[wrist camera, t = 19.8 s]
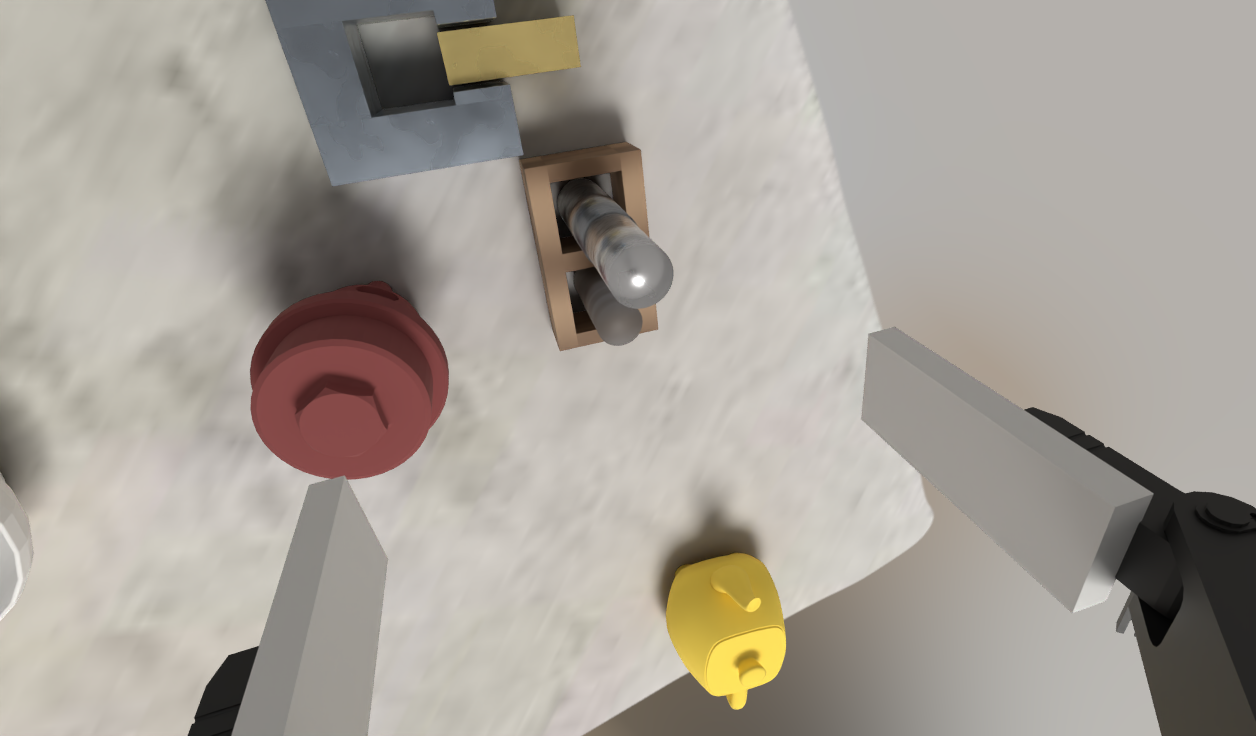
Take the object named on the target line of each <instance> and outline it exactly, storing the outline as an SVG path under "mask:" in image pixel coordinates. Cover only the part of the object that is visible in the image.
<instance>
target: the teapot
mask: <svg viewBox="0 0 1256 736" xmlns="http://www.w3.org/2000/svg"><path fill="white" fill-rule="evenodd" d="M666 622H667V629H668V633H669V635H670V638H671V640H672V643H673V645H674V647H675V649H676V651H677V653H678V655H679V656H680V658H681V660H682V661H683V663H684V664H685V666H686V667H687V669H688V670H689V671H690V673H691V674H692V675H693V676H694V677H695V678H696V679H697V681H698V682H699V683H700V684H701V685H702V686H703V687H704V688H705V689H706V690H707V691H708V692H709V693H710V694H712V695H714V696H723V695H726V697H727V699H728V702H729V704H730V706H731V707H732V708H733V709H741V708H742V707H743V706H744V705H745V703H746V698H747V689H750V688H753V687H756V686H759V685H762V684H764V683H767V682H769V681H771V680H772V679H773V678H774V677H775V676H776V675H777V673H778V672H779V670H780V668H781V665H782V662H783V659H784V655H785V651H786V637H785V627H784V620H783V614H782V609H781V604H780V600H779V596H778V593H777V590H776V587H775V585H774V582H773V580H772V578H771V575H770V573H769V571H768V570H767V568H766V567H765V565H764V564H763V563H762V562H761V561H759V560H758V559H756V558H754V557H752V556H750V555H748V554H744V553H732V554H730V555H725V556H720V557H716V558H712V559H708V560H704V561H701V562H698V563H695V564H692V565H691V564H685V565H682V566H680V567H679V568H678V569H677V570H676V572H675V578H674V581H673V583H672V586H671V590H670V593H669V598H668V603H667V610H666Z"/></svg>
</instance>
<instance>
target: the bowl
mask: <svg viewBox="0 0 1256 736" xmlns="http://www.w3.org/2000/svg"><path fill="white" fill-rule="evenodd" d="M33 554H34V552H33V545H32V537H31V530H30V524H29V519H28V517H27V515H26V513H25V512H24V510H23V508H22V506H21V504H20V503H19V501H18V499H17V497H16V496H15V494H14V492H13V490H12V489H11V488H10V487H9V486H8V485H7V484H6V483H5V479H4V477H3V476H2V474H1V472H0V621H1V619H2V618H3V617H4V616H5V615H6V614H7V613H8V612H9V611H10V609H11V608H12V607H13V606H14V605H15V604H16V602H17V601H18V599H19V597H20V595H21V594H22V592H23V590H24V587H25V584H26V581H27V578H28V575H29V572H30V568H31V565H32V559H33Z"/></svg>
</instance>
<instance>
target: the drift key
mask: <svg viewBox="0 0 1256 736" xmlns="http://www.w3.org/2000/svg"><path fill="white" fill-rule="evenodd" d="M437 36H438V40H439V44H440V48H441V52H442V56H443V61H444V65H445V69H446V73H447V77H448V81H449V85H456V84H463V83H470V82H477V81H484V80H491V79H498V78H506V77H513V76H520V75H527V74H534V73H541V72H548V71H555V70H562V69H569V68H577V67H581V65H580V58H579V51H578V43H577V36H576V29H575V22H574V15H572V16H564V17H556V18H548V19H540V20H532V21H524V22H516V23H509V24H501V25H493V26H485V27H477V28H469V29H461V30H453V31H445V32H437Z"/></svg>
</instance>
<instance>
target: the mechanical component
mask: <svg viewBox="0 0 1256 736" xmlns="http://www.w3.org/2000/svg"><path fill="white" fill-rule="evenodd" d="M250 377H251V385H252V390H253V392H252V396H251V414H252V420H253V423H254V426H255V428H256V431H257V433H258V434H259V436H260V438H261V439H262V441H263V442H264V444H265V445H266V446H267V447H268V448H269V449H270V450H271V451H272V452H273V453H274V454H275V455H276V456H277V457H279V458H280V459H281V460H283V461H284V462H286V463H287V464H289V465H291V466H292V467H294V468H297V469H299V470H301V471H303V472H306V473H309V474H312V475H315V476H319V477H324V478H330V479H333V478H337V477H341V476H344V475H345V477H346V479H361V478H367V477H372V476H375V475H379V474H382V473H385V472H387V471H389V470H392V469H394V468H395V467H397V466H399V465H400V464H402V463H404V462H405V461H406V460H407V459H409V458H410V457H411V456H412V455H413V454H414V453H415V452H416V451H417V450H418V449H419V447H420V446H421V444H422V443H423V441H424V440H425V438H426V435H427V433H428V430H429V429H430V428H431V427H432V425H433V424H434V423H435V422H436V420H437V419H438V417H439V416H440V414H441V412H442V410H443V407H444V405H445V402H446V398H447V394H448V385H449V370H448V362H447V358H446V354H445V351H444V348H443V346H442V344H441V342H440V340H439V338H438V337H437V336H436V334H435V333H434V331H433V330H432V329H431V327H430V326H429V325H428V324H427V323H426V322H425V321H424V320H423V319H422V318H421V317H420V316H419V314H418V313H417V311H416V310H415V308H414V307H413V306H412V305H411V304H410V303H409V302H408V301H407V300H405V299H404V298H403V297H401V296H400V295H398V294H396V293H394V292H392V289H391V287H390V286H389V285H388V284H387V283H385V282H382V281H373V282H371V283H369V284H368V285H352V286H347V287H343V288H340V289H337V290H335V291H333V292H327V293H322V294H317V295H314V296H311V297H308V298H305V299H303V300H301V301H299V302H297V303H295V304H293V305H291V306H290V307H288V308H287V309H286V310H284V311H283V312H281V313H280V314H279V315H278V316H277V317H276V318H275V319H274V320H273V321H272V323H271V324H270V325H269V327H268V328H267V330H266V331H265V332H264V334H263V335H262V337H261V339H260V340H259V342H258V344H257V346H256V348H255V351H254V354H253V356H252V361H251V368H250Z"/></svg>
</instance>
